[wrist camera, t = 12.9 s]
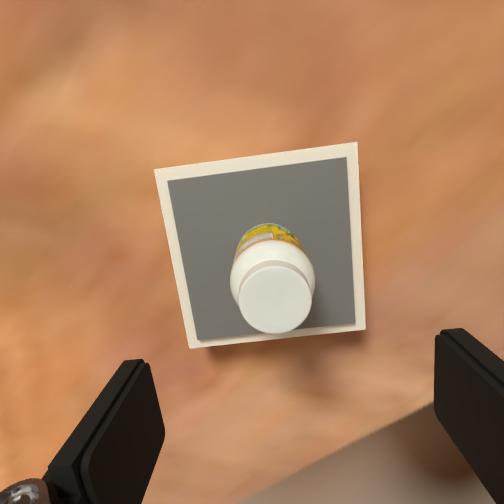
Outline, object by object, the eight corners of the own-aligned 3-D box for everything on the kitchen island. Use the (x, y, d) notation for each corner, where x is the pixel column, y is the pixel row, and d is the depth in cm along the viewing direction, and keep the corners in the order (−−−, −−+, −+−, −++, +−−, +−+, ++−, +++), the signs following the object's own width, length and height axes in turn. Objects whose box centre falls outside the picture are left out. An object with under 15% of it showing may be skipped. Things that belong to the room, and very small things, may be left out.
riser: (342, 146, 29) (359, 141, 24) (351, 308, 33) (367, 332, 28) (169, 169, 30) (151, 169, 25) (198, 325, 34) (188, 351, 29)
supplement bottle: (226, 238, 26) (207, 276, 17) (286, 211, 26) (302, 235, 16) (252, 294, 28) (249, 358, 18) (311, 270, 27) (339, 324, 18)
